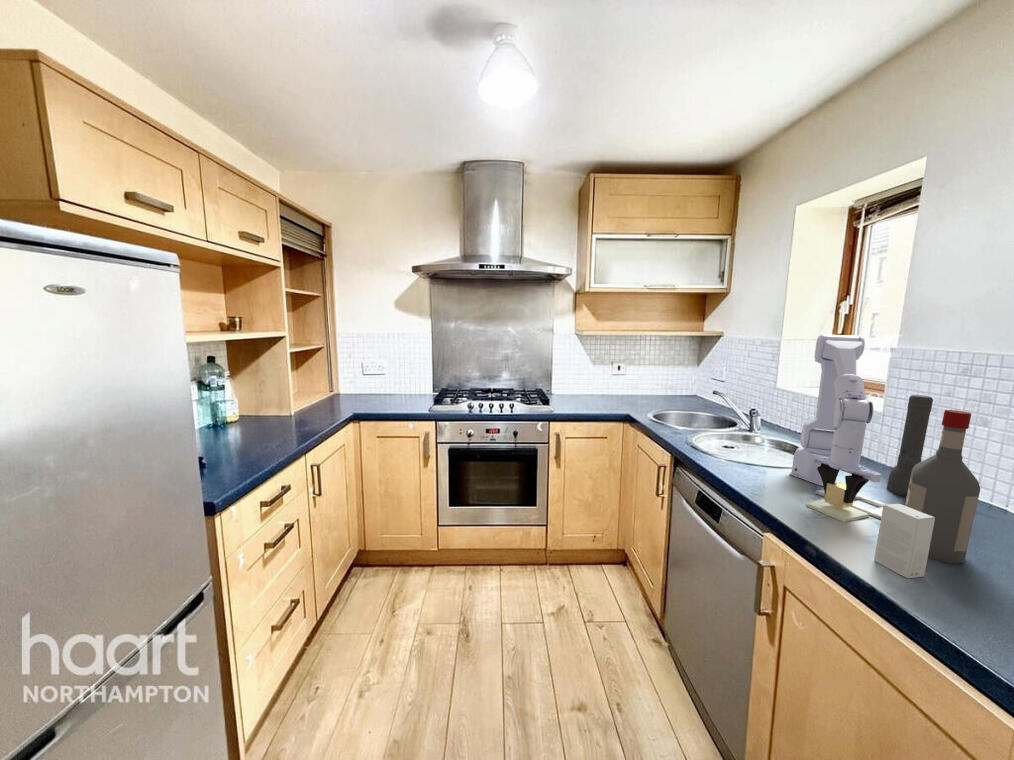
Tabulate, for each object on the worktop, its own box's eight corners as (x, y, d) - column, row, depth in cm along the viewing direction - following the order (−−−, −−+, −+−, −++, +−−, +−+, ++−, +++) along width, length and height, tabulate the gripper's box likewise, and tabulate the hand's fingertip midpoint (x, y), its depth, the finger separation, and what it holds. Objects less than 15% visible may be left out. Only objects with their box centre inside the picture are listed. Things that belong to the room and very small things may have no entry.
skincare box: (925, 577, 76) (937, 517, 74) (907, 579, 75) (919, 519, 73) (888, 558, 82) (899, 502, 80) (872, 560, 81) (882, 504, 79)
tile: (805, 505, 105) (806, 502, 105) (829, 501, 108) (829, 498, 108) (844, 522, 96) (844, 519, 96) (868, 517, 99) (868, 514, 99)
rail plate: (815, 493, 112) (815, 490, 112) (838, 489, 116) (839, 486, 116) (894, 525, 96) (895, 521, 96) (919, 519, 99) (920, 516, 99)
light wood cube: (824, 501, 103) (827, 483, 102) (834, 499, 104) (837, 481, 104) (841, 508, 99) (844, 489, 99) (852, 506, 101) (855, 487, 100)
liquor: (957, 549, 86) (987, 412, 81) (965, 568, 79) (998, 419, 74) (898, 533, 92) (923, 404, 87) (900, 550, 85) (927, 411, 80)
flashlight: (882, 485, 120) (892, 494, 114) (899, 392, 116) (910, 396, 109) (914, 490, 117) (925, 499, 111) (932, 395, 113) (945, 399, 106)
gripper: (805, 439, 105) (798, 488, 107) (871, 457, 91) (861, 513, 93) (823, 437, 107) (816, 485, 109) (890, 455, 94) (880, 509, 96)
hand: (838, 498), depth 101 cm, fingers closed on light wood cube, 4 cm apart
